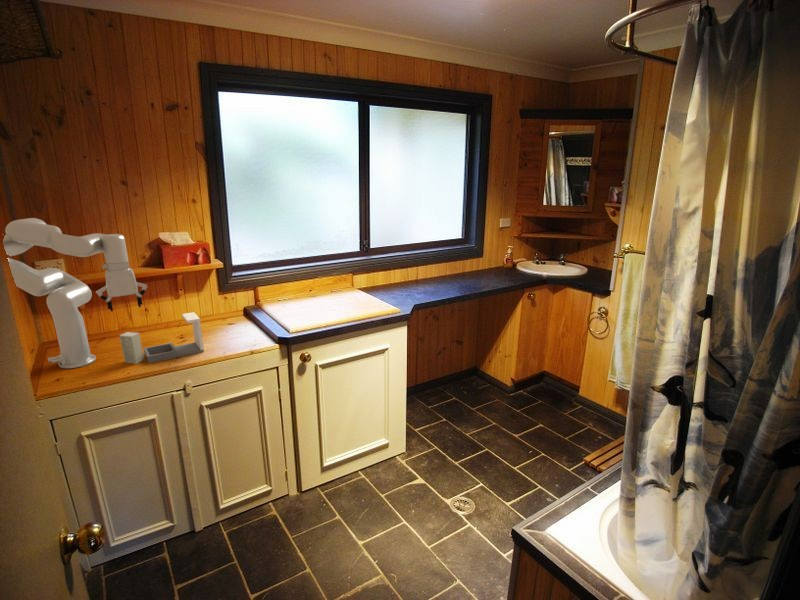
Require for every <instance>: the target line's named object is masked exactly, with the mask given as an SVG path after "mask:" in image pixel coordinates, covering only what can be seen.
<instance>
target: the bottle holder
mask: <svg viewBox="0 0 800 600" xmlns="http://www.w3.org/2000/svg"><path fill="white" fill-rule="evenodd" d="M181 317H182V318H183V319H184V321H185V322H186V323H187V324H192V329H193V337H194V342H190V343H186V344H180V345H174V344H173V342H168V343H163V344H158V345H154V346H147V347H143V354H144V357H145V359H146V361H147V362H148V364H151V363H152V362H153V363H158V362H162V361H167V360H171V359H175V358H176V357H177V358H180V357H181V358H182V357H186V356H189V355H195V354H199V352H200V353H204V352H205V347H204V340H203V332H202V331H203V330H202V325H201V324H202V323H201V318H200V317H199V316H198V315H197V314H196V313H195V311H192V312H187V313H182V314H181ZM154 353H155V354H154ZM177 358H176V359H177ZM153 363H152V364H153Z"/></svg>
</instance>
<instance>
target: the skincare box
mask: <svg viewBox="0 0 800 600" xmlns="http://www.w3.org/2000/svg"><path fill="white" fill-rule="evenodd" d="M118 336H119V341H120V345H121V350H122V354H123V359H124V363H125V362H126V363H127V364H132V363H133V365H134V364H135V365H136V364H137V365H138V364H140V363H142V362H143V361H145V354H144V349H143V344H142V341H141V334H140V332H133V331H127V332H124V333H121V334H119V335H118ZM141 361H142V362H141ZM139 362H140V363H139Z"/></svg>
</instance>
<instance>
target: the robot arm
mask: <svg viewBox="0 0 800 600" xmlns="http://www.w3.org/2000/svg"><path fill="white" fill-rule="evenodd" d="M4 230H5V234H6V235H5V236H4V239H3V245H4V249H5V251H6V254H7V255H9V256H10V257H13V256H18V255H21V254H23V253H25V252H26V251H28V250H29V249H31V248H32V247H34V246H38V247H43V248H49V249H52V250H53V251H54V252H57V253H60V254H62V255H68V256H72V257H73V256H74V257H79V258H86V257H91V256H94V255H97V254H101V253H103V255H104V259H105V264H102V265H101V268H102V269H105V285H104V286H103V287H101V288H99V289H98V290H96V291H95V293H96V295H98V297H99V298H100V299H102V300H103V301H104V302H106V305H107V309H108V310H110V312H113V311H114V309H113V304H112V298H115V297H116V298H117V297H123V296H131V295H136V301H137V307H139V308H141V307H142V306H141V305H143V300H142V297H143V295H145V293H146V290H147V288H148V285H147V284H145V283H142V282H138V281H137V280H136V276H135V272H134V270H133V268H131V267H130V262H129V255H128V249H127V246H126V245H127V244H126V238H125V236H124V235H123V234H120V233H110V234H105V233H91V234H86V235H82V236H75V235H69V234H64V233H63V232H62V230H61V228H60V227H58V226H56V225H52V224H47V223H46V222H45V221H44V220H43V219H40V218H36V217H29V218H22V219H16V220H12V221H10V222H9V223H8V224H6V227H5V229H4ZM10 257H8V258H7V259H8V262H9V266H10V269H11V273H12V276H13V278H14V282H15V284H16V287H18V288H19V289H21V290H22V291H24V292H27V293H28V294H30V295H32V296H34V297H35V296H36V297H43V296H46V295H47V297H46V305H47V308H48V310H49V312H50V314H51V317H52V321H53V325H54V328H55V332H56V337H57V342H58V346H59V350H60V351H59V352H60V354H58V355H57V356H50V357H47V360H48V361H47V362H48V363H51V364H55V363H58V367H59V368H61V369H76V368H81V367H84V366H88V365H90V364H92V363H94V362H95V361H96V359H97V356H96V355H95V354H93V353H91V349H90V344H89V340H88V335H87V334H88V333H87V328H86V325H85V320H84V317H83V315H82V314H81V312H80V311H79V309H78V308H79V307H82V306H83V305H85V304H87V303H88V302H90V300H92V296H93V294H92V289H90V287H89V286H88V284H86V283H84V282H83V281H82V280H80V279H78V278H77V277H74V276H73V275H71V274H70V273H67V272H66V271H64V270H61V269H59V268H57V267H46V268H42V269H35V268H33V267H31V266H29V265H27V264H26V263H24V262H22V261H20V260H16V259H13V258H10ZM138 287H141V290H140V291H138V290H139V289H138ZM105 291H106V292H107V296H106V295H104V294H103V293H104V292H105Z"/></svg>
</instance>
